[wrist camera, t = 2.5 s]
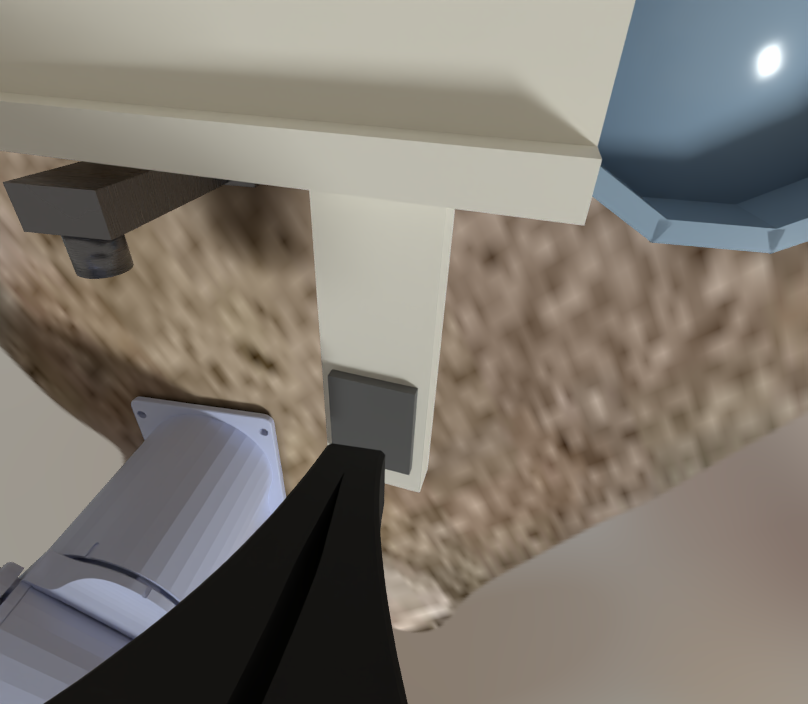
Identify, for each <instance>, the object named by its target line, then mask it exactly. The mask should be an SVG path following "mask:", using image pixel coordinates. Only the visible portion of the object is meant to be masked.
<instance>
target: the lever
mask: <svg viewBox="0 0 808 704" xmlns="http://www.w3.org/2000/svg"><path fill="white" fill-rule="evenodd" d="M635 1H636V0H0V151H7V152H14V153H22V154H30V155H38V156H46V157H53V158H61V159H69V160H77V161H85V162H93V163H100V164H108V165H116V166H124V167H132V168H139V169H147V170H155V171H163V172H171V173H178V174H186V175H194V176H202V177H210V178H217V179H225V180H233V181H241V182H249V183H257V184H264V185H272V186H280V187H288V188H296V189H303V190H309V193H310V207H311V220H312V234H313V248H314V262H315V276H316V290H317V303H318V317H319V331H320V345H321V359H322V373H323V386H324V400H325V414H326V428H327V442H328V445H329V444H331V443H334V444H341V445H347V446H354V447H361V448H368V449H375V450H381V451H382V452H383V453H384V454H385V483H386V484H390V485H393V486H397V487H401V488H404V489H408V490H412V491H415V492H419V493H420V490H421V487H422V484H423V481H424V478H425V475H426V472H427V469H428V461H429V451H430V442H431V432H432V423H433V413H434V404H435V394H436V384H437V375H438V365H439V356H440V346H441V337H442V327H443V318H444V308H445V299H446V289H447V280H448V270H449V261H450V251H451V242H452V232H453V223H454V213H455V209H460V210H467V211H475V212H483V213H491V214H499V215H506V216H514V217H522V218H530V219H538V220H546V221H553V222H561V223H569V224H577V225H585V221H586V217H587V214H588V210H589V206H590V202H591V199H592V195H593V191H594V188H595V184H596V180H597V176H598V173H599V169H600V165H601V162H602V158H601V155H600V152H599V149H598V143H599V139H600V135H601V131H602V127H603V124H604V120H605V116H606V112H607V108H608V104H609V100H610V97H611V93H612V89H613V85H614V81H615V77H616V74H617V70H618V66H619V62H620V58H621V54H622V51H623V47H624V43H625V39H626V35H627V31H628V28H629V24H630V20H631V16H632V12H633V8H634V5H635Z"/></svg>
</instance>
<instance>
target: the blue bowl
mask: <svg viewBox="0 0 808 704" xmlns="http://www.w3.org/2000/svg"><path fill="white" fill-rule="evenodd" d="M598 149H599V152H600V155H601V158H602V162H601V165H600V169H599V173H598V176H597V180H596V184H595V188H594V191H593V195H592V197H594V198H595V199H596V200H598V201H599V202H600V203H602V204H603V205H604V206H605V207H607V208H608V209H609V210H611V211H612V212H613V213H614V214H616V215H617V216H618V217H620V218H621V219H622V220H623V221H625V222H626V223H627V224H629V225H630V226H631V227H633V228H634V229H635V230H636V231H638V232H639V233H640V234H642V235H643V236H644V237H645V238H647V239H648V240H649V241H650V242H652V243H664V244H675V245H686V246H697V247H708V248H719V249H731V250H742V251H753V252H764V253H770V254H771V253H774V252H777V251H780V250H783V249H786V248H789V247H792V246H795V245H798V244H801V243H804V242H807V241H808V0H636V1H635V5H634V8H633V12H632V16H631V20H630V24H629V28H628V31H627V35H626V39H625V43H624V47H623V51H622V54H621V58H620V62H619V66H618V70H617V74H616V77H615V81H614V85H613V89H612V93H611V97H610V100H609V104H608V108H607V112H606V116H605V120H604V124H603V127H602V131H601V135H600V139H599V143H598Z"/></svg>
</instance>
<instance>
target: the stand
mask: <svg viewBox="0 0 808 704" xmlns="http://www.w3.org/2000/svg"><path fill="white" fill-rule="evenodd" d="M3 184H4V186H5V189H6V191H7V193H8V195H9V198H10V200H11V202H12V205H13V207H14V209H15V212H16V214H17V216H18V218H19V221H20V223H21V225H22V228H23V230H24V232H34V233H44V234H53V235H61V237H62V239H63V242H64V244H65V247H66V249H67V252H68V254H69V257H70V260H71V262H72V265H73V267H74V270H75V272H76V274H77V275H78V276H79V277H82V278H89V279H99V278H107V277H112V276H116V275H120V274H122V273H125V272H127V271H129V270H130V269H131V268H132V267H133V265H134V264H133V261H132V258H131V254H130V251H129V248H128V245H127V242H126V238H125V235H124V234H125V233H128V232H130V231H132V230H134V229H136V228H138V227H140V226H142V225H144V224H146V223H148V222H150V221H152V220H154V219H156V218H158V217H160V216H162V215H164V214H166V213H168V212H170V211H172V210H174V209H176V208H178V207H180V206H182V205H184V204H186V203H188V202H190V201H192V200H194V199H196V198H198V197H200V196H202V195H204V194H206V193H208V192H210V191H212V190H214V189H216V188H218V187H220V186H222V185H233V186H245V187H256V186H258V185H260V184H257V183H249V182H241V181H233V180H225V179H217V178H210V177H202V176H194V175H186V174H178V173H171V172H163V171H155V170H147V169H139V168H132V167H124V166H116V165H108V164H100V163H93V162H85V161H81V162H77V163H74V164H70V165H66V166H62V167H58V168H55V169H51V170H47V171H43V172H40V173H36V174H32V175H28V176H24V177H21V178H17V179H13V180H9V181H6V182H3Z"/></svg>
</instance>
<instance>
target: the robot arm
mask: <svg viewBox="0 0 808 704" xmlns="http://www.w3.org/2000/svg"><path fill="white" fill-rule="evenodd" d="M131 407H132V409H133V412H134V414H135V417H136V420H137V422H138V425H139V427H140V430H141V432H142V435H143V438H144V440H145V441H144V442H143V443H142V444H141V445H140V447H139V448H138V449H137V450H136V451H135V452H134V453H133V455H132V456H131V457H130V458H129V459H128V460H127V461H126V462H125V464H124V465H123V466H122V467H121V468H120V469H119V470H118V472H117V473H116V474H115V475H114V476H113V477H112V478H111V480H110V481H109V482H108V483H107V484H106V485H105V486H104V487H103V488H102V490H101V491H100V492H99V493H98V494H97V495H96V496H95V498H94V499H93V500H92V501H91V502H90V503H89V505H88V506H87V507H86V508H85V509H84V510H83V511H82V512H81V513H80V515H79V516H78V517H77V518H76V519H75V520H74V521H73V522H72V524H71V525H70V526H69V527H68V528H67V529H66V530H65V531H64V533H63V534H62V535H61V536H60V537H59V538H58V539H57V541H56V542H55V543H54V544H53V545H52V546H51V547H50V549H49V550H48V551H47V552H45V553H44V554H43V555H42V556H41V557H40V558H39V559H38V560H37V561H36V562H35V563H34V564H33V565H31V566H30V567H29V568H28V569H27V570H26V571H25V572H24V573H23V574H22V575H21V576H20V577H19V578H18V576H19V575H20V573H21V572H22V571H23V569H24V568H23V567H21V566H19V565H18V564H16V563H14V562H9V563H6V564H5V565H4V566H3V567H2V568H1V567H0V704H408V703H407V699H406V694H405V689H404V685H403V680H402V676H401V671H400V667H399V662H398V658H397V652H396V647H395V641H394V636H393V631H392V625H391V619H390V612H389V606H388V600H387V593H386V586H385V578H384V569H383V560H382V550H381V537H380V528H381V519H382V513H383V507H384V486H385V454H384V453H383V452H382V451H381V450H375V449H368V448H361V447H354V446H347V445H341V444H334V443H331V444H329V445H328V446H327V447H326V448H325V449H324V451H323V452H322V454H321V455H320V456H319V458H318V459H317V460H316V462H315V463H314V464H313V466H312V467H311V468H310V469H309V471H308V472H307V473H306V475H305V476H304V477H303V478H302V479H301V481H300V482H299V483H298V484H297V486H296V487H295V488H294V489H293V490H292V491H291V493H290V494H289V495H288V496H287V497H286V494H285V488H284V481H283V475H282V469H281V462H280V456H279V450H278V444H277V437H276V431H275V425H274V421H273V419H272V418H271V417H270V416H269V415H267V414H262V413H255V412H247V411H240V410H233V409H226V408H219V407H212V406H205V405H197V404H190V403H183V402H176V401H169V400H162V399H154V398H147V397H136V398H135V399H134V400H133V401H132V402H131ZM264 429H266V430H264Z"/></svg>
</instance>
